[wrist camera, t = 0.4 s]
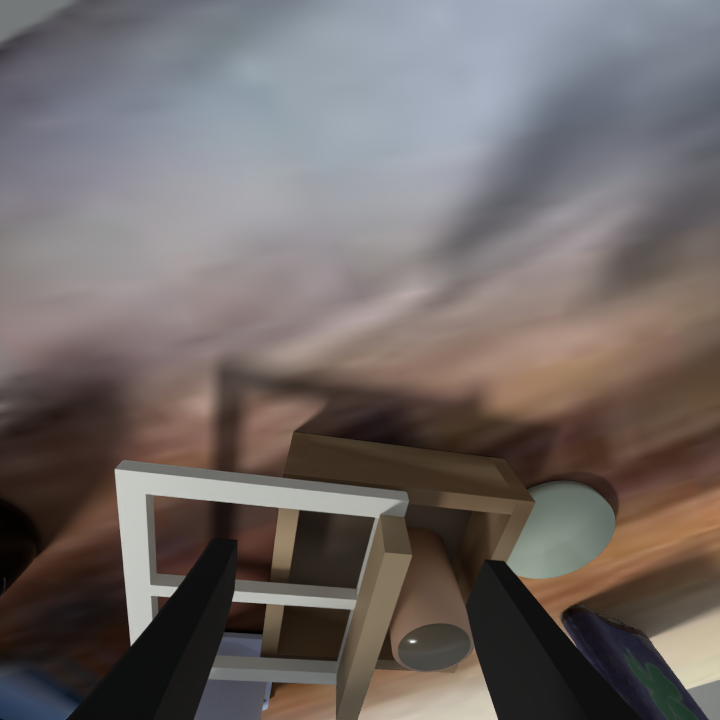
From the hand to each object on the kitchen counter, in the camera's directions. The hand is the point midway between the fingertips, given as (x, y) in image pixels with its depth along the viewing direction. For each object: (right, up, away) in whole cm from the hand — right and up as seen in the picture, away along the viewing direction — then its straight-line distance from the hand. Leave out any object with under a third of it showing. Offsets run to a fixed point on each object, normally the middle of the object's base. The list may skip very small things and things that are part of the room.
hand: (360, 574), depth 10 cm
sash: (-6, -6, +8) cm, 12 cm away
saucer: (+13, -5, +13) cm, 19 cm away
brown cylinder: (+4, -7, +13) cm, 15 cm away
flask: (+20, -16, +18) cm, 31 cm away
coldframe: (+1, -6, +13) cm, 14 cm away
